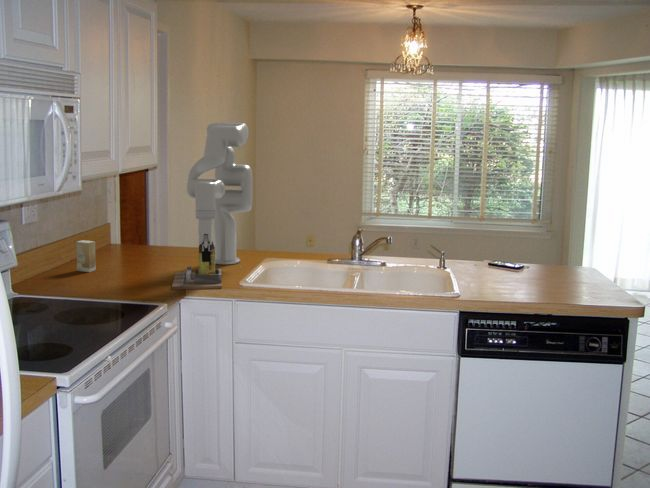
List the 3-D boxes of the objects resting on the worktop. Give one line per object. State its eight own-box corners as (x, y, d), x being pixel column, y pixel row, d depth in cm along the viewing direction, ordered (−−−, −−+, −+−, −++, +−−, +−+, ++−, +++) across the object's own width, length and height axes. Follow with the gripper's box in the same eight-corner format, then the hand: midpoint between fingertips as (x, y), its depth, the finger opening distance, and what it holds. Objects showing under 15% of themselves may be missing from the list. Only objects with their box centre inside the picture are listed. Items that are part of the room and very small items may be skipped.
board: (175, 274, 272) (175, 265, 272) (221, 273, 275) (221, 264, 274) (171, 289, 249) (171, 278, 248) (221, 288, 252) (221, 277, 251)
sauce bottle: (211, 281, 257) (210, 229, 253) (196, 280, 258) (195, 228, 255) (217, 277, 263) (217, 227, 260) (202, 276, 265) (201, 226, 261)
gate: (187, 277, 264) (187, 266, 263) (191, 277, 264) (191, 266, 264) (186, 283, 254) (186, 272, 254) (190, 283, 255) (190, 271, 254)
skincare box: (76, 271, 276) (75, 241, 274) (83, 269, 281) (82, 239, 278) (90, 272, 274) (88, 242, 272) (96, 270, 278) (95, 240, 276)
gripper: (196, 211, 264) (197, 254, 267) (194, 217, 247) (195, 264, 250) (215, 211, 265) (216, 254, 268) (215, 217, 248) (216, 263, 251)
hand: (206, 259), depth 259 cm, fingers open, 9 cm apart
